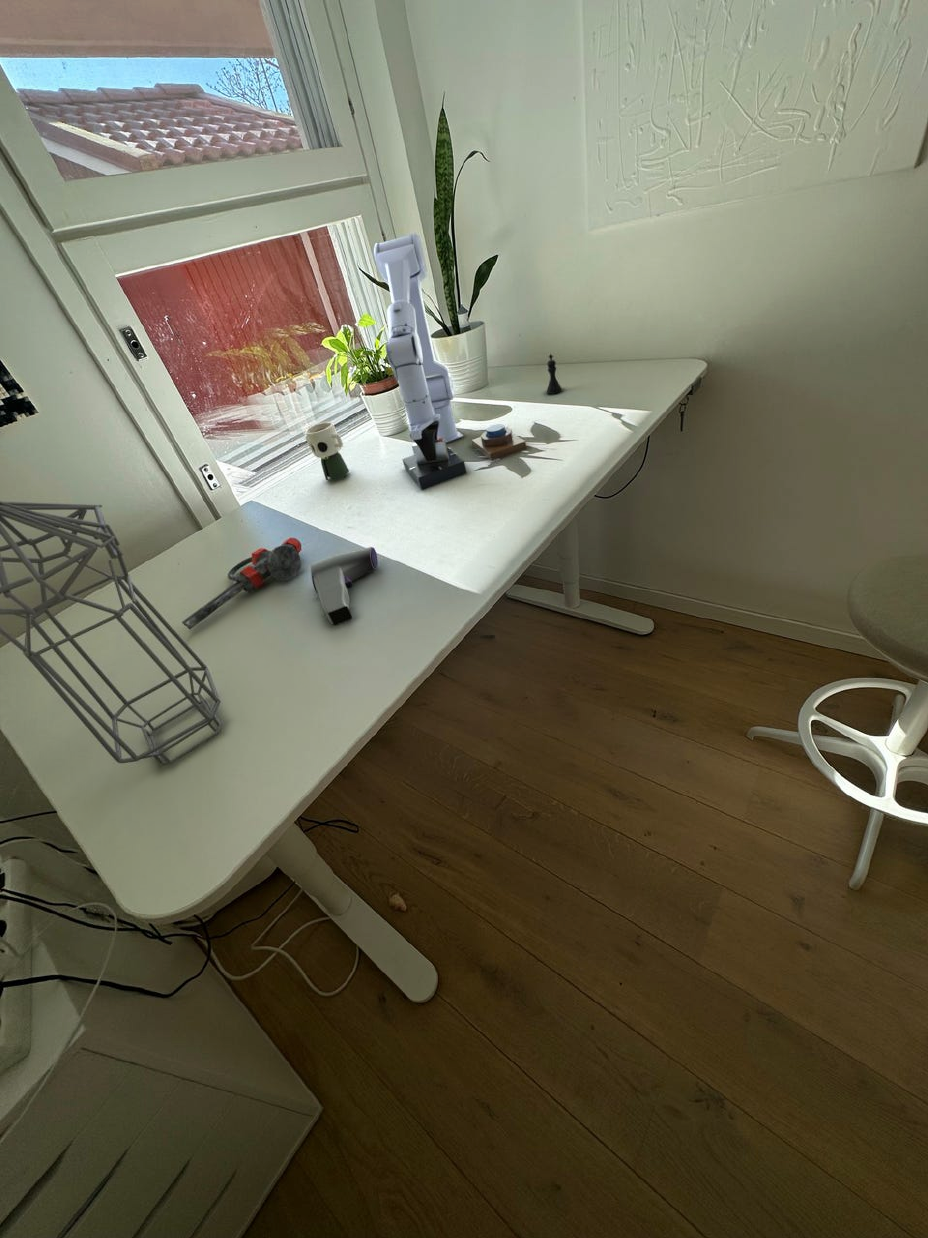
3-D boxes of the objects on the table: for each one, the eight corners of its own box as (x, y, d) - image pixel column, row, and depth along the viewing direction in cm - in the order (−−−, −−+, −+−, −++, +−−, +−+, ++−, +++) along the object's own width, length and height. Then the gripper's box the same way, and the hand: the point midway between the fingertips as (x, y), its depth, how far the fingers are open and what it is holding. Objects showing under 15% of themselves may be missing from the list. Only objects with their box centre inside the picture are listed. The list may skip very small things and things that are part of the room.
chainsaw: (284, 551, 111) (321, 557, 101) (178, 628, 98) (208, 644, 88) (268, 526, 108) (304, 529, 97) (155, 602, 95) (183, 615, 85)
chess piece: (553, 388, 150) (550, 351, 144) (565, 389, 147) (562, 351, 141) (543, 393, 149) (539, 356, 142) (554, 395, 146) (550, 357, 139)
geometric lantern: (136, 805, 63) (-128, 572, 42) (122, 731, 74) (-92, 517, 53) (256, 731, 69) (78, 490, 47) (226, 672, 80) (71, 456, 58)
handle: (417, 464, 120) (411, 445, 117) (418, 461, 121) (413, 442, 118) (448, 460, 118) (443, 440, 115) (449, 457, 119) (444, 437, 116)
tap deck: (404, 471, 127) (400, 458, 125) (448, 455, 128) (445, 442, 126) (420, 490, 116) (416, 477, 114) (468, 473, 118) (465, 460, 116)
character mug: (313, 483, 133) (292, 434, 125) (330, 470, 138) (311, 422, 130) (346, 484, 128) (326, 432, 120) (362, 471, 133) (344, 420, 125)
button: (484, 435, 125) (483, 428, 124) (501, 429, 125) (500, 422, 124) (491, 440, 121) (490, 432, 120) (508, 434, 122) (507, 426, 121)
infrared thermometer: (329, 632, 84) (315, 582, 94) (399, 604, 85) (378, 558, 96) (318, 611, 80) (305, 562, 91) (391, 583, 82) (370, 538, 93)
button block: (472, 446, 129) (470, 432, 127) (505, 434, 131) (503, 420, 128) (491, 460, 120) (488, 446, 118) (526, 448, 121) (524, 433, 119)
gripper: (426, 406, 104) (442, 469, 112) (440, 383, 115) (454, 443, 123) (394, 411, 106) (412, 473, 114) (411, 389, 117) (426, 447, 125)
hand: (432, 458), depth 119 cm, fingers closed, pressing on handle
